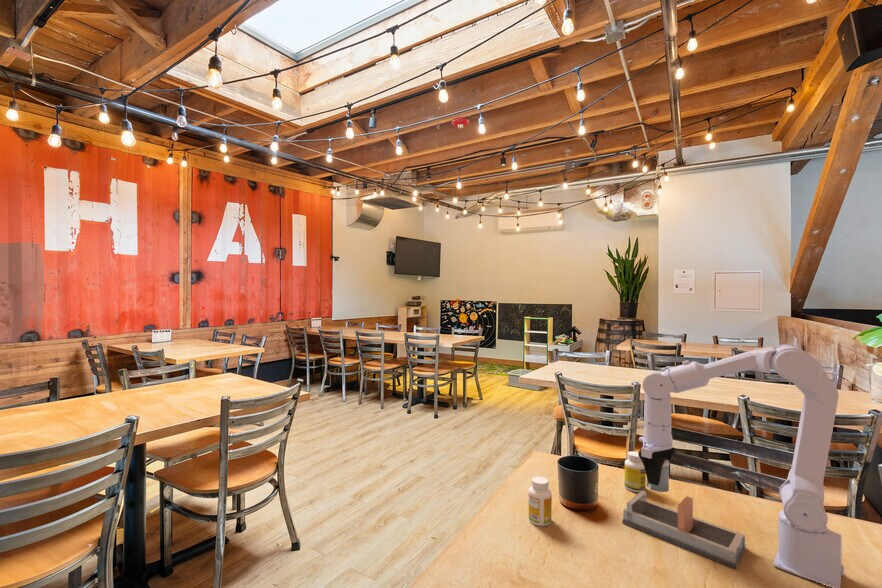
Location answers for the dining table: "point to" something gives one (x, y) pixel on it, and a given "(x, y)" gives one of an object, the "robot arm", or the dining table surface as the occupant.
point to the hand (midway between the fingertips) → (657, 480)
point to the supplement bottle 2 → (634, 473)
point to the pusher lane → (699, 540)
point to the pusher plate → (685, 514)
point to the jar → (662, 479)
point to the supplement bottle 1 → (540, 502)
